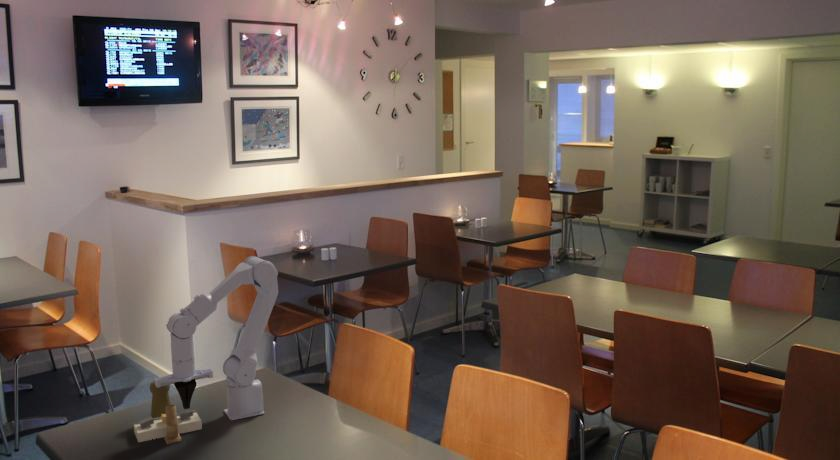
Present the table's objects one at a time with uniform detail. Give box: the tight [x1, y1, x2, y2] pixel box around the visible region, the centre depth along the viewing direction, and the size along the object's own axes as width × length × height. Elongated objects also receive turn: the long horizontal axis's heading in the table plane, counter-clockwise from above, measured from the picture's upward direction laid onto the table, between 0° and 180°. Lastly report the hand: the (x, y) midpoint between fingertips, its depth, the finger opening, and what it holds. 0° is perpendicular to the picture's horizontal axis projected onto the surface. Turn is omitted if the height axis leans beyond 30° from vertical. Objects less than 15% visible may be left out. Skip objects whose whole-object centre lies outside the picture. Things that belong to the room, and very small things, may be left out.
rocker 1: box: [138, 415, 154, 428], centre depth 191 cm, size 3×2×1 cm
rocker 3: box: [178, 408, 193, 420], centre depth 196 cm, size 3×2×1 cm
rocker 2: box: [161, 414, 166, 422], centre depth 194 cm, size 3×2×1 cm
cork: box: [149, 380, 172, 418], centre depth 201 cm, size 6×6×11 cm
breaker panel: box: [133, 409, 203, 443], centre depth 194 cm, size 16×7×3 cm, turn 119°
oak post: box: [163, 404, 182, 445], centre depth 188 cm, size 4×4×9 cm
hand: (186, 407), depth 196 cm, fingers closed
